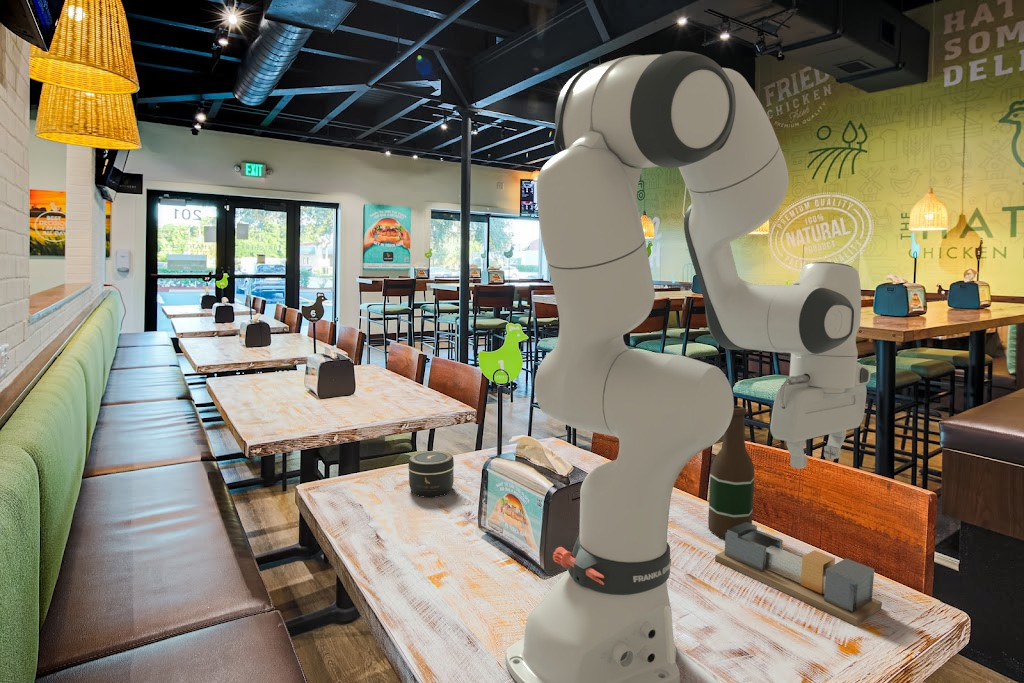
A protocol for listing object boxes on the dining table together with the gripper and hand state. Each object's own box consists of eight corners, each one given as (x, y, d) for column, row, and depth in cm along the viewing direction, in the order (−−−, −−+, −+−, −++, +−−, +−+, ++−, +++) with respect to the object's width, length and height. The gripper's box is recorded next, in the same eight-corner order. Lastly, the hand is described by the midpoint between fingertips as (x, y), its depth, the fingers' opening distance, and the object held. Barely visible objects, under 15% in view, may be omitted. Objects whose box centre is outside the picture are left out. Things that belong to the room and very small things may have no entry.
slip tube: (849, 606, 87) (851, 575, 86) (760, 566, 98) (761, 539, 97) (860, 598, 88) (862, 569, 88) (772, 561, 100) (773, 534, 99)
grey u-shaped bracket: (762, 572, 97) (763, 544, 96) (724, 555, 102) (725, 528, 102) (781, 563, 100) (782, 535, 99) (743, 547, 105) (744, 521, 105)
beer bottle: (755, 543, 109) (762, 412, 106) (710, 539, 111) (716, 410, 108) (747, 525, 117) (754, 403, 114) (705, 521, 118) (710, 401, 115)
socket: (852, 613, 85) (854, 580, 84) (823, 600, 88) (826, 568, 88) (871, 600, 88) (874, 568, 88) (843, 588, 92) (846, 558, 91)
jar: (405, 498, 129) (404, 464, 129) (412, 482, 139) (411, 450, 138) (451, 498, 130) (451, 464, 129) (455, 482, 139) (455, 450, 139)
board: (855, 625, 84) (856, 618, 84) (715, 560, 103) (715, 554, 102) (881, 608, 88) (882, 601, 88) (742, 548, 107) (742, 543, 107)
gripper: (804, 380, 82) (797, 479, 83) (876, 370, 94) (869, 458, 95) (762, 374, 87) (756, 467, 88) (835, 365, 99) (829, 448, 100)
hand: (815, 462), depth 92 cm, fingers open, 8 cm apart
